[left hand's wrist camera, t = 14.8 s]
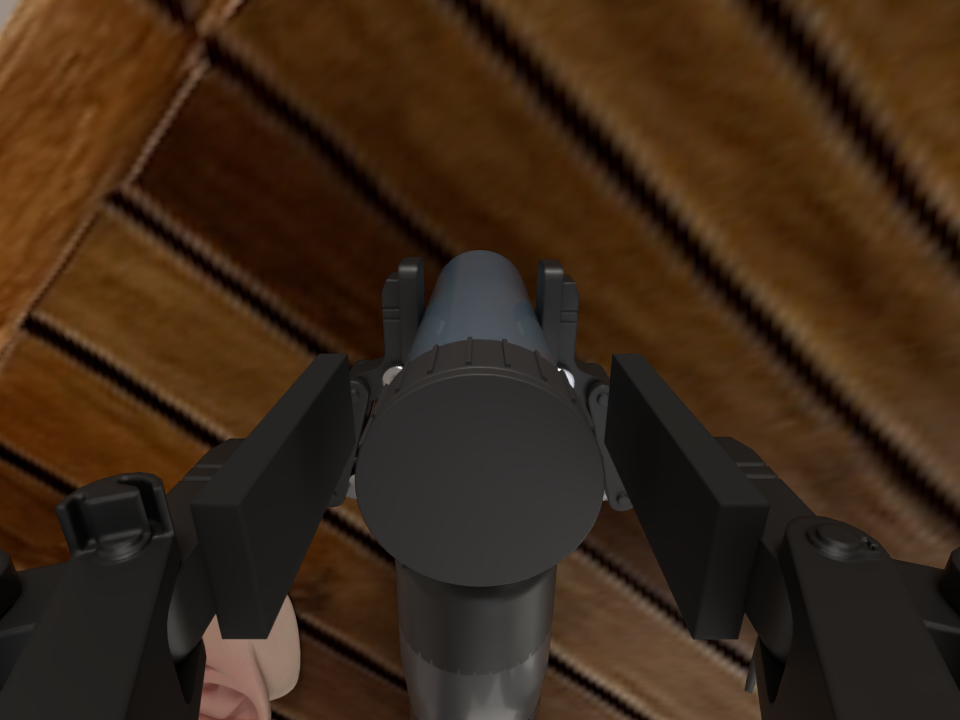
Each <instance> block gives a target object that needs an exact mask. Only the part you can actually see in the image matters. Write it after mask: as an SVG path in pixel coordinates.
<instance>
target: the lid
mask: <svg viewBox="0 0 960 720" xmlns="http://www.w3.org/2000/svg"><path fill="white" fill-rule="evenodd" d="M594 430H596V428H595V425H594V423H593V421H592V419H591V416H590V414H589V412H588V410H587V407H586V405H585V403H584V401H583V399H582V396H581V395H578V396H577V395H576V393H575V391H574V389H573V387H572V386H571V384H570V383H569V380H568V378H567V376H566V373H565V371H564V370H563V369H562V370H560V371H559V370H558V369H557V368H556V367H555V366H553V365H552V364H551V363H550V362H549V361H547V360H546V359H544V358H543V357H541V355H540V352H539V351H537V350H535V351H534V352H533V351H530V350H528V349H526V348H524V347H521V346H518V345H515V344H511V343H508V341H507V339H502V341H497V340H489V339H472V337H467V340H461V341H457V342H452V343H448V344H445V345H442V346H439V345H438V344H436V345H434V346H433V349H431V350H430V351H428V352H426V353H424V354H422V355H420V356H419V357H417V358H416V359H414V360H413V361H411V362H410V361H409V360H407V361H406V362H405V363H404V366H403V368H402V370H401V371H400V372H399V373H398V374H397V375H396V376H395V378H394V379H393V380H392V381H391V382H390V384H389V385H388V384H387V383H386V384H385V385H384V387H383V389H382V391H381V394H380V396H379V398H378V401H377V403H376V405H375V407H374V410H373V412H372V414H371V417H370V419H369V421H368V423H367V426H366V428H365V430H364V432H363V435H362V437H361V439H360V442H359V444H358V448H360V450H359V453H358V457H357V461H356V468H355V493H356V497H357V502H358V506H359V509H360V511H361V514H362V517H363V519H364V521H365V523H366V525H367V527H368V528H369V530H370V532H371V533H372V535H373V536H374V537H375V539H376V540H377V541H378V543H379V544H380V545H381V546H382V547H383V548H384V549H385V550H386V551H387V552H388V553H389V554H390V555H392V556H393V557H394V558H395V559H397V560H398V561H399V562H401V563H402V564H404V565H405V566H407V567H409V568H410V569H412V570H414V571H416V572H418V573H420V574H422V575H424V576H427V577H430V578H432V579H435V580H438V581H442V582H446V583H450V584H455V585H463V586H479V587H485V586H498V585H504V584H510V583H514V582H518V581H521V580H525V579H528V578H530V577H533V576H535V575H538V574H540V573H542V572H544V571H546V570H548V569H550V568H551V567H553V566H555V565H556V564H558V563H559V562H560V561H562V560H563V559H565V558H566V557H567V556H568V555H569V554H570V553H572V552H573V551H574V550H575V549H576V548H577V547H578V546H579V544H580V543H581V542H582V541H583V540H584V539H585V537H586V536H587V534H588V533H589V531H590V530H591V528H592V527H593V525H594V523H595V521H596V518H597V516H598V514H599V511H600V508H601V505H602V501H603V497H604V490H605V469H604V463H603V461H604V457H603V454H602V452H601V450H600V447H599V445H598V442H597V440H596V438H595V436H594V433H593V431H594Z"/></svg>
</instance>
